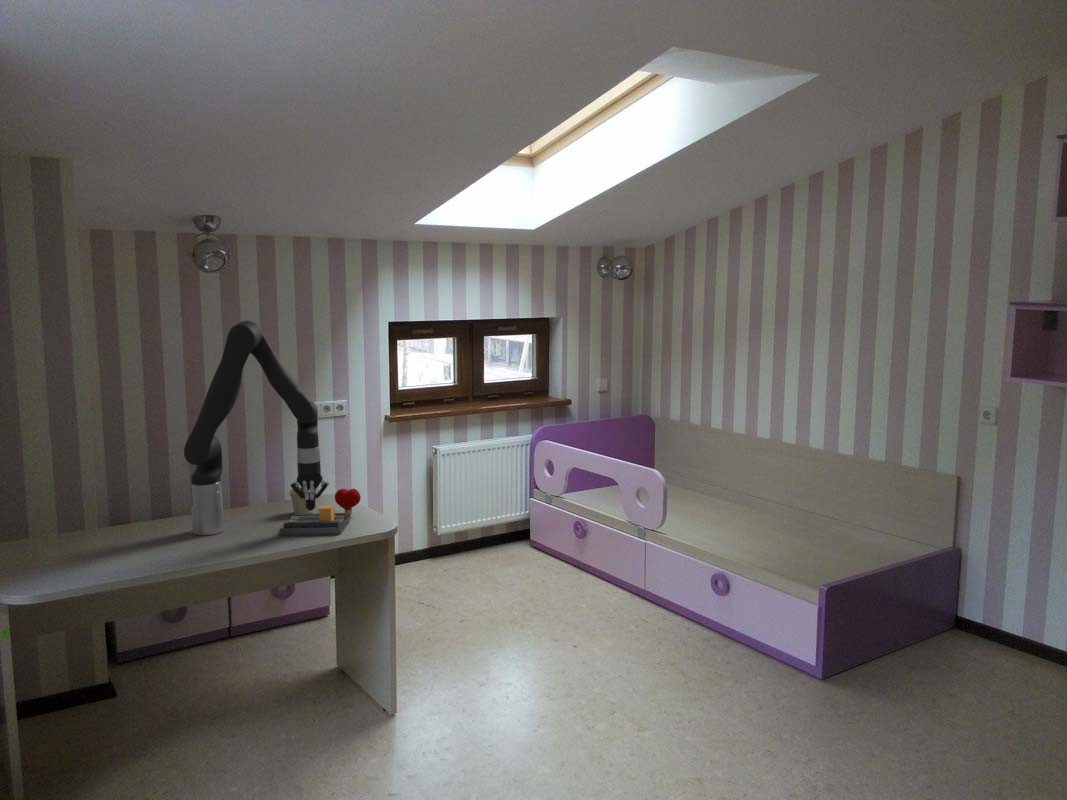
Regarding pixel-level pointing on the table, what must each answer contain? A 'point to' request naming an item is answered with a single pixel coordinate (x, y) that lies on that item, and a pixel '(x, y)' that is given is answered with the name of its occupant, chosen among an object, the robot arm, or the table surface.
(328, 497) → the table surface
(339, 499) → the red heart figurine
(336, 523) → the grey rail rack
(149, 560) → the table surface
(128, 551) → the table surface
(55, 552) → the table surface
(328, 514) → the tan cardboard cube
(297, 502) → the flower pot
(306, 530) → the panel
